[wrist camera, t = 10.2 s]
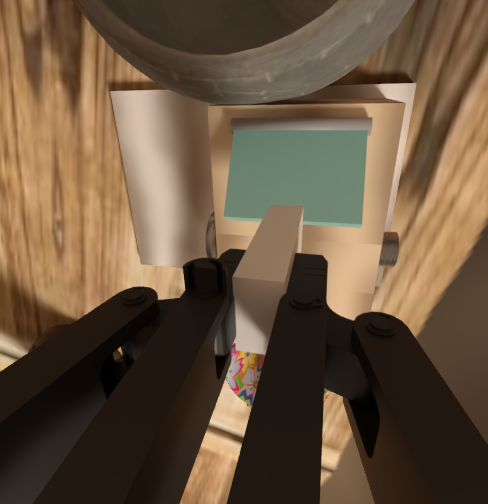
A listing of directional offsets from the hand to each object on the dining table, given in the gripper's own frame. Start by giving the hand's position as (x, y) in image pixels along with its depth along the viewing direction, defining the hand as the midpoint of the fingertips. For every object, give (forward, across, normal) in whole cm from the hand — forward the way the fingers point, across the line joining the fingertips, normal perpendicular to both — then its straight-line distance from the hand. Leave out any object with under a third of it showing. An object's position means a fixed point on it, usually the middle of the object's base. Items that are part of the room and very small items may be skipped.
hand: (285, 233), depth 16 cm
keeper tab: (+7, 0, +1) cm, 7 cm away
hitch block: (+17, -5, -3) cm, 18 cm away
